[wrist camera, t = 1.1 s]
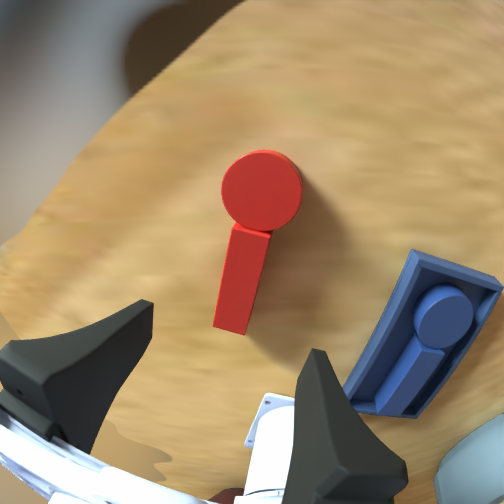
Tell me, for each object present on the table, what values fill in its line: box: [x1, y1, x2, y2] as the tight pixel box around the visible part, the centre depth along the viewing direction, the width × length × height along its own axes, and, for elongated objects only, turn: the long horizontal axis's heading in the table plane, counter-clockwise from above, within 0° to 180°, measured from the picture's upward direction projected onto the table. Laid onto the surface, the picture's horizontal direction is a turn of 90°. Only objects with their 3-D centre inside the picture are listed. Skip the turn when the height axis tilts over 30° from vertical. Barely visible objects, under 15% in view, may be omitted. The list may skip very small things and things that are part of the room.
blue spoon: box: [374, 283, 474, 416], centre depth 19 cm, size 11×4×2 cm, turn 168°
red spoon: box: [213, 150, 302, 335], centre depth 19 cm, size 11×4×2 cm, turn 168°
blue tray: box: [342, 249, 504, 419], centre depth 20 cm, size 14×8×2 cm, turn 168°
